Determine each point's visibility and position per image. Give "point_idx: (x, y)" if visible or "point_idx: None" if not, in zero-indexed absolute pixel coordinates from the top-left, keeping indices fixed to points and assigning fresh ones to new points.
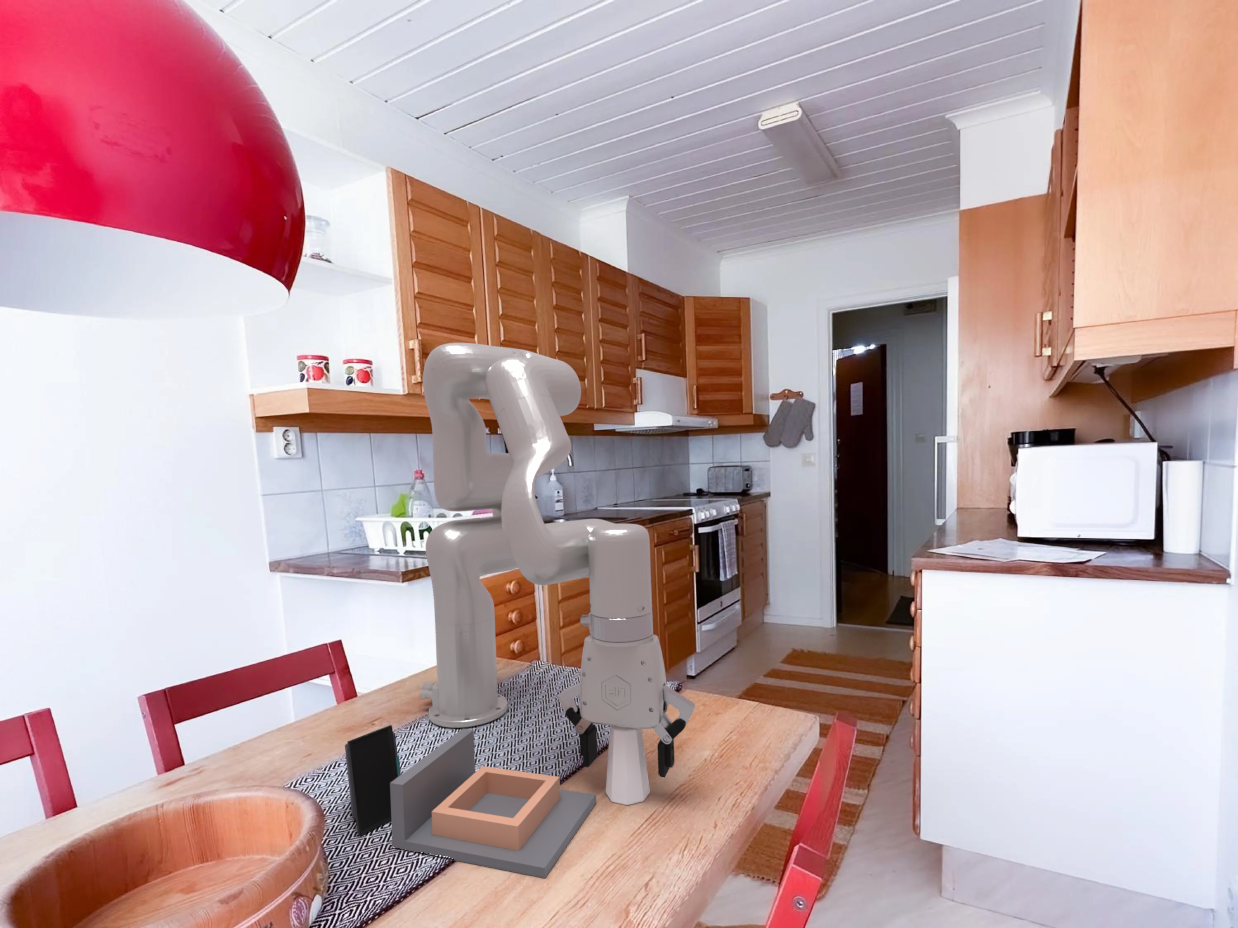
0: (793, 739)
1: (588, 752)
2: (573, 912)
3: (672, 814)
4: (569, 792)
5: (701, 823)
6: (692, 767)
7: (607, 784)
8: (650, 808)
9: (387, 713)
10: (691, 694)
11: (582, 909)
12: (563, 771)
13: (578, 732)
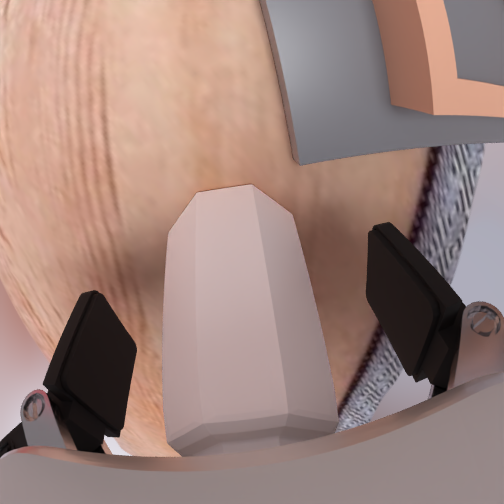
0: (116, 438)
1: (395, 260)
2: None
3: (76, 220)
4: (381, 142)
5: (18, 225)
6: None
7: (288, 223)
8: (133, 213)
9: None
10: None
11: None
12: (427, 249)
13: (479, 305)
